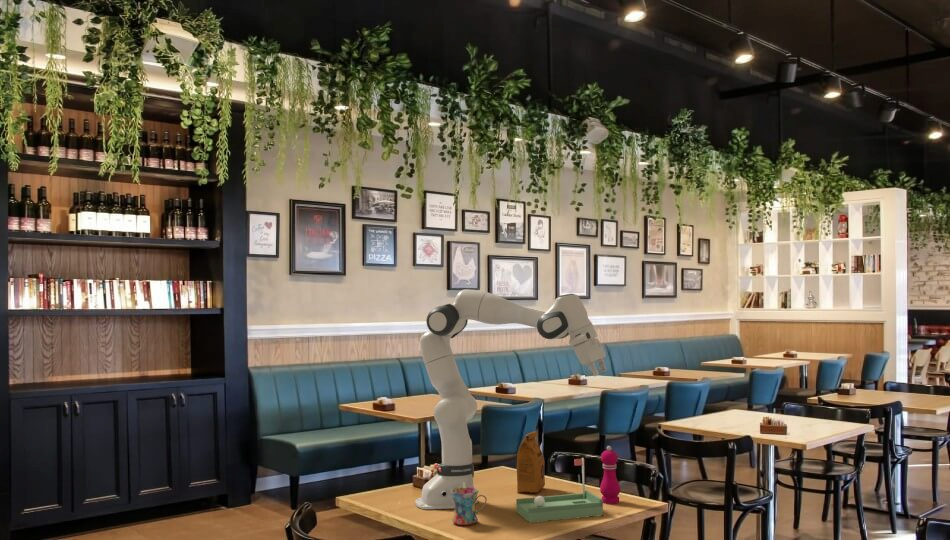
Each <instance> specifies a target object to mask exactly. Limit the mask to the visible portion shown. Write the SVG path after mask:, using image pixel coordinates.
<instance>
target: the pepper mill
mask: <svg viewBox="0 0 950 540" xmlns="http://www.w3.org/2000/svg"><path fill="white" fill-rule="evenodd" d="M618 459H619V458H618V454H617V452H616V451H614V450H612V446H611V445H607V446H606V450H604V451H603V452H602V453H601V455H600V460H601V462H602V469H603V477H602V480H601V482H600V486H599V487H600V488H599V492H600V493H601V495H602V496H601V499H603V504H605V503H606V505H616V504H619V503H620V496H619V495H620V493H621V485H620V483H619V481H618V478H617V475H616V469H617V468H618V467H617V462H618Z"/></svg>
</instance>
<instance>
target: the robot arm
mask: <svg viewBox="0 0 950 540" xmlns="http://www.w3.org/2000/svg"><path fill="white" fill-rule="evenodd" d="M582 301H583V300H582V299H581V298H580V296H578V295H577V294H575V293H568V294H564V295H560V296H559V295H558V296H557V297H556V298H555V301H554V302H553V303H552V305H551V306H550V307H549V309H547V310H546V311H541V310H537V309H533V308H529V307H525V306H522V305H519V304H517V303H515V302H513V301H511V300H508V299H506V298H504V297H501V296H499V295H497V294H494V293H492V292H487V291H483V290H482V291H481V290H477V289H468V288H467V289H465V288H464V289H462V290H460V291H459V292H458V293H457V294H456V296H455V299H454V302H453V303H452V304H451V303H447V304H443V305H438V306H436V307H435V308H433V309H432V310H430V311H429V312H428V314H427V317H426V325H427V326H426V327H427V329H428V331H426V332H424V333H423V334H422V335H421V337H420V338H419V345H420V352H421V356H422V361H423V363H424V366H425V369H426V372H427V375H428V378H429V381H430V384H431V386H432V387H433V388H434V389H435V390H436V391H437V393H438V396H439V397H440V400H439V401H438V402H437V404H436V405H435V407H434V409H433V417H434V418H433V419H434V420H435V422H436V423H437V426H438V433H439V436H440V441H441V443H440V444H441V463H440V464H438V463H434V464H433V469H434V470H436V474H435V475H434V476H433V477H432V478H430V480H428V481H427V482H426V483H425V484H423V487H422V488H421V496H420V497H418V498H416V499H415V503H414V504H415V505H416V507H417V508H419V509H422V510H443V509H444V510H446V509H447V510H448V509H452V510H453V509H455V505H454V500H453V497H452V494H451V492H450V491H451V490H452V489H455V488H464V487H468V488H475V484H474V483H475V482H474V477H475V465H474V462H473V442H472V439H471V438H470V434H469V429H468V421H470V420H472V419H473V417H474V416H475V414H476V412H477V410H478V402H477V400H476V399H475V397H474V396H473V395H472V393H471V392H470V390H469V388H468V386H467V385H466V383H465V381H464V380H463V377H462V375H461V373H460V371H459V368H458V364H457V362H456V359H455V357H454V353H453V351H452V348H451V343H450V340H451V339H453V338H455V337H456V336H457V335H459V334H460V333H462V331H463V330H464V329H465V328H466V327H467V325H468V320H471V321H476V322H479V323H484V324H487V325H488V324H489V325H498V326H499V325H507V324H510V325H511V324H518V325H525V326H527V327H528V326H529V327H532V328H536V329H537V332H538V333H539V335H540V336H541V338H544V339H545V340H561V339H565V338H567V337H568V336H569V342H568V344H569V346H570V347H571V348H573V351H574V353H575V355H576V357H577V359H578V361H579V363H580V365H582V366H583V367H584V366H587V368H588V369H589V371H590V372H591V373H592V376H593V377H597V376H598V375H600V373H601V374H602V373H605V372H607V368H606V363H605V360H604V358H606V355H607V354H606V351H605V348H604V347H603V345H602V343H601V342H600V339H598V338H597V337H598V333H597V331H596V329H595V327H594V325H593V322H592V321H591V320H590V318H589V315H588V311H587V309H586V308H585V305H584V303H583V302H582ZM595 362H597V364H598V367H599V370H598V369H597V367H596V364H595ZM599 371H600V372H599ZM477 503H478V500H477V501H475V504H477Z"/></svg>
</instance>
